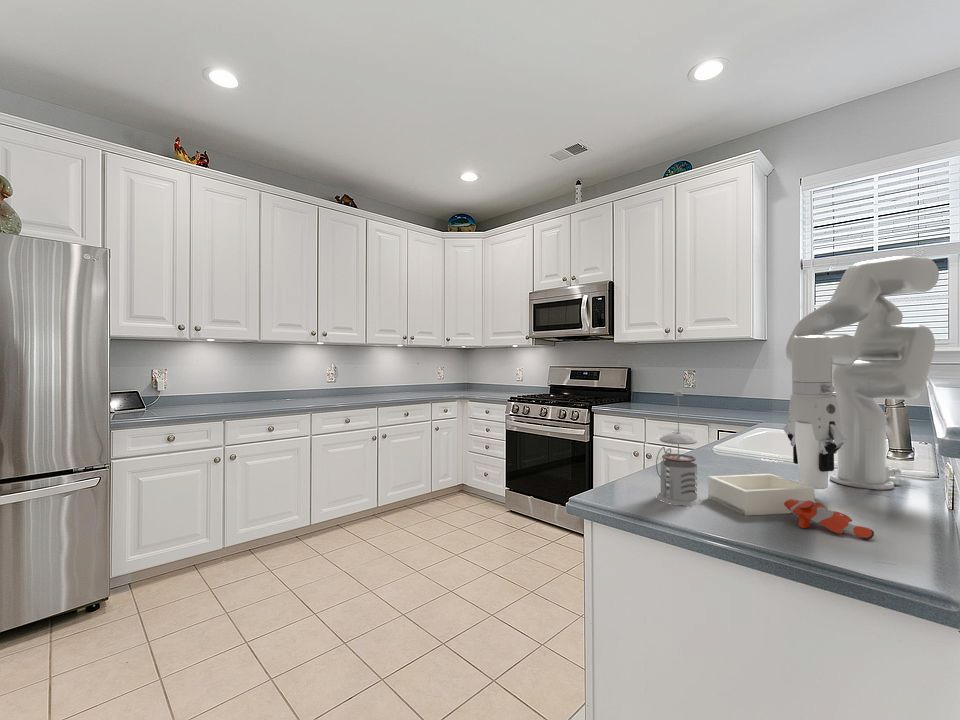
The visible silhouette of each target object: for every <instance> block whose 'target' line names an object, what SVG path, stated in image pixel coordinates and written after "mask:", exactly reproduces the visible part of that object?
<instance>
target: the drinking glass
mask: <svg viewBox="0 0 960 720" xmlns="http://www.w3.org/2000/svg"><path fill="white" fill-rule="evenodd" d="M826 439H829V435H826ZM795 443H796V452H797V460H798V464H797V467H798V468H797V469H798V477H799V478H798V483H800V484H804V485H807V486H810V487H813V488H814V490H825V489H827V488H828V485H829V471H826V472H822V471H820V470H819V453H822V452H821V449H820V446H819V441H817V440H816V439H815V436H814V432H813V427H812V424H807V423H800V422H797V421H795ZM828 443H829V442H825V444H826V447H827V446H828Z"/></svg>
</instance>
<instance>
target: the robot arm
mask: <svg viewBox="0 0 960 720" xmlns="http://www.w3.org/2000/svg"><path fill="white" fill-rule="evenodd" d="M939 278H940V272H939V268H938V265H937V264H936V263H935V262H934V261H933V260H932V259H931V258H928V257H922V256H921V257H918V256H909V255H906V256H905V255H902V256H892V257H891V256H890V257H885V258H878V259H872V260H866V261H860V262H856V263H854V264H852V265H851V266H849V267H848V268H847V269H846V270H845V271H844V273H843V275H842V277H841V279H840V281H839V282H838V284H837V287H836V288H835V290H834V293H833V295H832V296H831V298H830V300H829V301H828V302H827V303H825V304H823V305H821V306H820V307H817V308H816V309H815V310H813V311H811V312H810V313H808V314H807V315H805V316H804V317H802V319H800V320H799V321H798V322H797V324H796V325H795V326H794V328H793V330H792V332H791V334H790V335H789V338H788V340H787V343H786V346H785V354H786V358H787V360H788V361H789V362H790V363H791V391H792V392H791V394H790V400H789V406H788V416H787V417H788V419H787V421H788V422H787V424H786V425H785V426H784V427H783V432H784V433H785V434H786V435H787V438H788V439H789V441H790V446H791V447H792V458H793V461H792V463H793V464H795V465H798V460H797V452H796V443H795V421H797V422H800V423H807V424H812V427H813V432H814V436H815V439H816V440H817V441H819V446H820V449H821V452H822V453H819V470H820V471H822V472H826V471H828V472H832V473H831V474H829V479H830V480H831V481H832V482H833V483H836V484H840V485H843V486H848V487H852V488H859V489H865V490H866V489H867V490H891V489H894V488H895V483H894V482H893V481H892V480H890V477H891V476H892V477H897V476H901V474H902V471H901V469H900V468H898V467H891V468H890V467H889V466H886V461H887V460H886V459H887V457H886V456H887V455H886V454H887V451H886V449H887V447H886V446H887V443H886V441H887V439H886V438H887V433H886V432H887V430H886V429H887V427H886V425H887V419H886V414H885V412H884V410H883V409H882V407H881V406H880V404H878V403H877V401H876V400H875V399H885V400H886V399H887V400H903V401H904V400H914V399H917V398H919V397H920V396H921V394H922V393H923V391H924V389H925V386H926V383H927V379H928V375H929V373H930V369H931V366H932V365H931V364H932V361H933V357H934V354H935V349H936V345H935V344H936V343H935V340H936V339H935V337H934V334H933V331H932V330H931V329H930V328H929V327H927V326H925V325H922V324H902V321H903V319H904V318H903V317H904V315H903V313H902V310H900V309H899V308H898V306H896V305H895V304H894V303H893V302H892V301H889V300H888V299H887V298H886V296H896V295H906V294H916V293H926V292H929V291H931V290H933V288H934V287H935V286H936V285H937V283H938V281H939ZM854 324H857V326H856V329H855V332H854V335H853V336H852V335H850V334H844V333H831V334H830V333H829V332H832V331H834V330H838V329H841V328H842V329H843V328H845V327H848V326H851V325H854ZM827 333H829V334H827ZM833 367H834V369H833ZM834 392H835V396H833V393H834ZM826 435H829V439H826ZM825 442H829V443H828V446H827V447H826V444H825ZM836 454H837V472H833V471H834V470H835V455H836Z"/></svg>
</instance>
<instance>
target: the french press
mask: <svg viewBox="0 0 960 720" xmlns="http://www.w3.org/2000/svg"><path fill="white" fill-rule="evenodd" d="M683 394H684V392H682V391H681V390H676V391H674V393H673V396H674V397H677V431H676V432H669V433H666V434H665V435H664V434H663V436H661V437H659V441H660V442H662V443H665V444H671V445H677V453H672V448H671V447H669V448H667V450H666V448H665V447H664V446H663V447H661V448H660V449H659V451H658V453H657V456H656V460H655V469H656V473H657V475H658V477H659V478H660V492H659V493H657V494H656V495H657V498H658V499H659V500H662V501H664V502H667V503H666V504H668V503H671V504H670V505H672V504H676V505H675V506H679V505H684V506H683V507H693V506H694V505H695V506H699V505H701V504H702V503H703V502H702V501H703V500H702V499H701V498H700V497H699V496H698V494H697V492H698V488H697V487H698V483H697V481H698V477H697V475H698V464H696V463H694V462H695V461H696V457H694V456H692V455H689V454H684V453H683V454H681V453H680V445H685V446H686V445H689V446H690V445H695V444H697V443H698V441H699V440H698V439H696V438H695V437H694V436H692V435H691V434H688V433H687V434H686V433H682V432H680V397H683V396H684V395H683ZM662 450H663V453H664V454H662V456H661V458H662V461H660V472H659V469H658V458H659V456H660V453H661V451H662ZM667 468H668V469H667ZM659 473H660V474H659ZM668 474H669V475H668ZM657 498H656V499H657ZM658 499H657V500H658ZM659 500H658V501H659ZM662 501H661V502H662ZM664 502H663V503H664ZM687 505H688V506H687Z"/></svg>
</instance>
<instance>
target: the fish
mask: <svg viewBox="0 0 960 720" xmlns="http://www.w3.org/2000/svg"><path fill="white" fill-rule="evenodd" d="M784 505H785V506H786V508H787V509H788V510H790V511H791V512H792V513H791V514H794V515H795V516H797V517H798V518H797V520H798V521H797V525H798V527H799V528H801V529H808V528H810V527H811V525H812V522H813V523H816V524H818V525H821V526H823V527H824V528H825V529H827V530H828V531H829V532H832V533H833V534H836V535H844V534H845V531H847V532H850V533H851V534H854V536H856V537H859V538H860V539H863V540H867V541H868V540H871V539H873V538H874V537H875V532H874V530H873V529H871V528H868V527H865V526H860V525H855V524H852V523H851V522H853V519H852V518H851V517H849V516H848V515H847V514H845V513H842V512H840V511H834V510H831V509H829V508H827V506H825V505H824V504H823V503H822V502H817V501H814V502H812V501H800V500H793V499H790V500H787V501H785V502H784Z"/></svg>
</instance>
